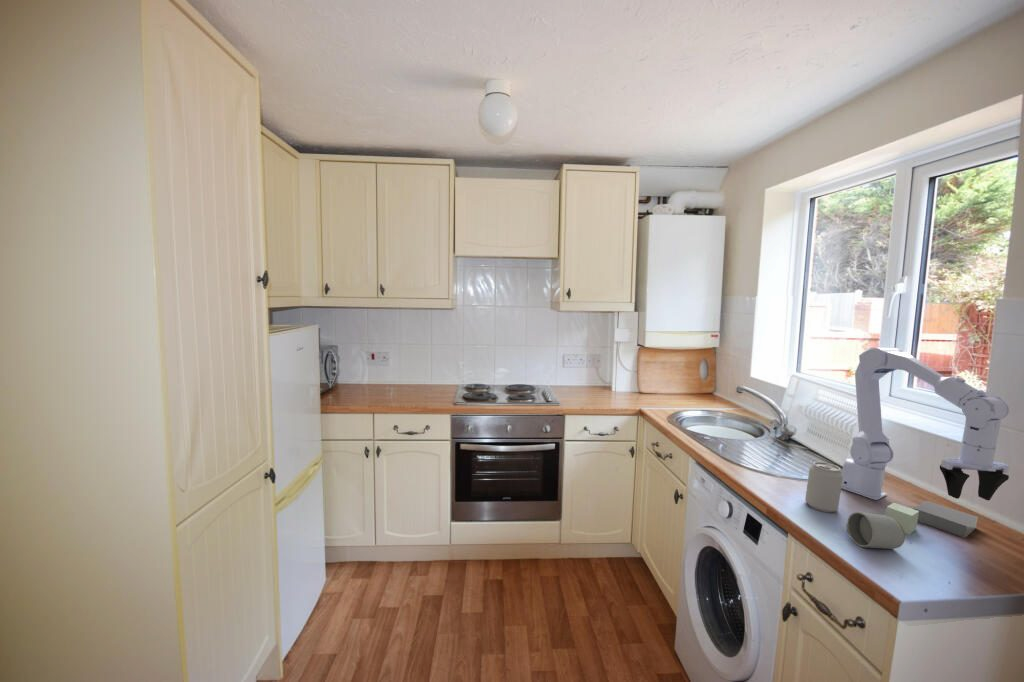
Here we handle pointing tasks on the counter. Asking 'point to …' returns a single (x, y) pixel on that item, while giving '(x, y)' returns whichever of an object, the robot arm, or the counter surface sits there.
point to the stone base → (946, 518)
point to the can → (824, 486)
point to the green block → (903, 516)
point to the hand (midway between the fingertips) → (968, 497)
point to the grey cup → (875, 530)
